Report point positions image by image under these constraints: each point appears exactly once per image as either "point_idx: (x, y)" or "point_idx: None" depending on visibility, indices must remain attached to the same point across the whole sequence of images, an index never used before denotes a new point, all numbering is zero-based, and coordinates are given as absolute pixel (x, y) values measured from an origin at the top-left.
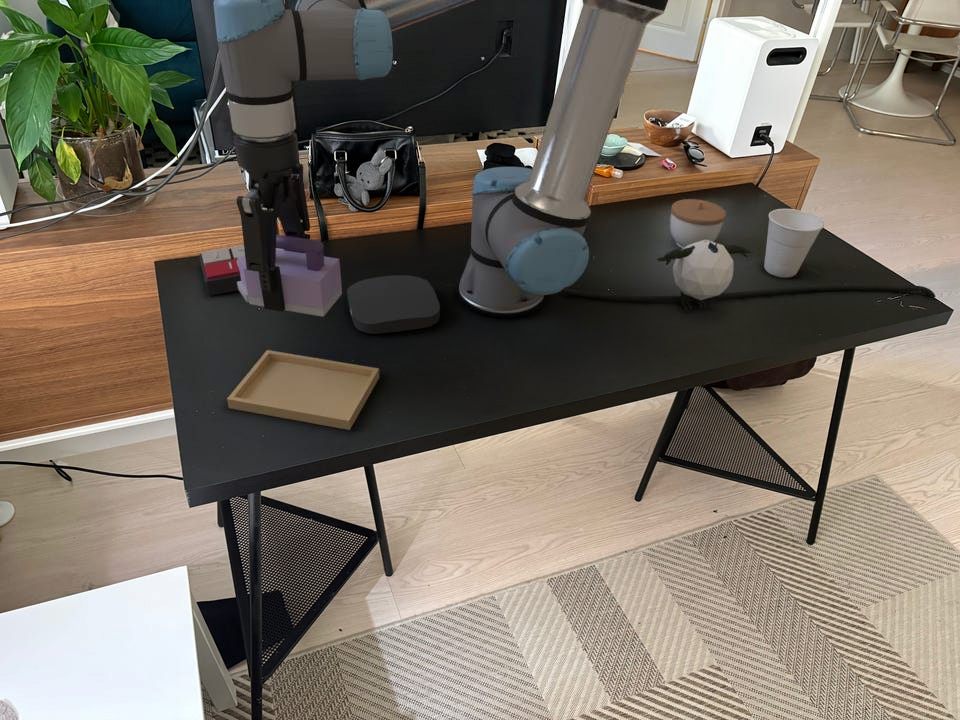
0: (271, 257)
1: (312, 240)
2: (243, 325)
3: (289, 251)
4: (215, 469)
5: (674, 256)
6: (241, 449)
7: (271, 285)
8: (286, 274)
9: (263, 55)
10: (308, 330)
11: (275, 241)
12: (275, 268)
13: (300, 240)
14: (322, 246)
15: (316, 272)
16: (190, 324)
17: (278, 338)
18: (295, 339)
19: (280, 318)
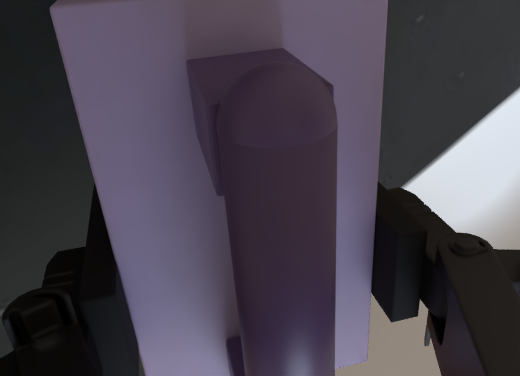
0: (510, 282)
1: (289, 185)
2: None
3: (137, 318)
4: (517, 49)
5: None
6: (463, 36)
7: (411, 205)
8: (370, 187)
9: None
10: (8, 159)
11: (488, 357)
12: (423, 240)
13: (314, 265)
14: (281, 72)
15: (299, 53)
16: (139, 371)
17: (86, 201)
18: (66, 164)
19: (4, 250)
